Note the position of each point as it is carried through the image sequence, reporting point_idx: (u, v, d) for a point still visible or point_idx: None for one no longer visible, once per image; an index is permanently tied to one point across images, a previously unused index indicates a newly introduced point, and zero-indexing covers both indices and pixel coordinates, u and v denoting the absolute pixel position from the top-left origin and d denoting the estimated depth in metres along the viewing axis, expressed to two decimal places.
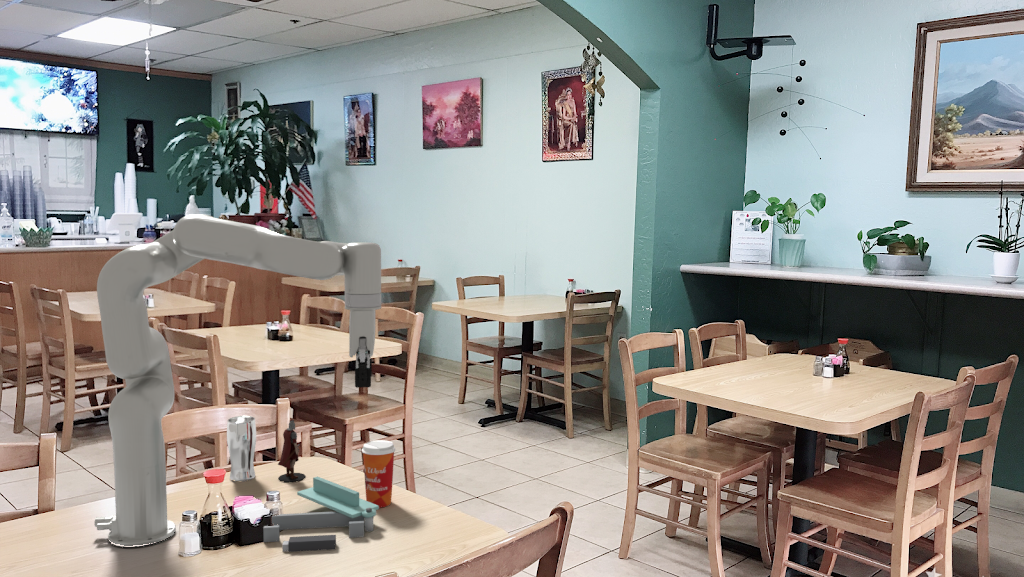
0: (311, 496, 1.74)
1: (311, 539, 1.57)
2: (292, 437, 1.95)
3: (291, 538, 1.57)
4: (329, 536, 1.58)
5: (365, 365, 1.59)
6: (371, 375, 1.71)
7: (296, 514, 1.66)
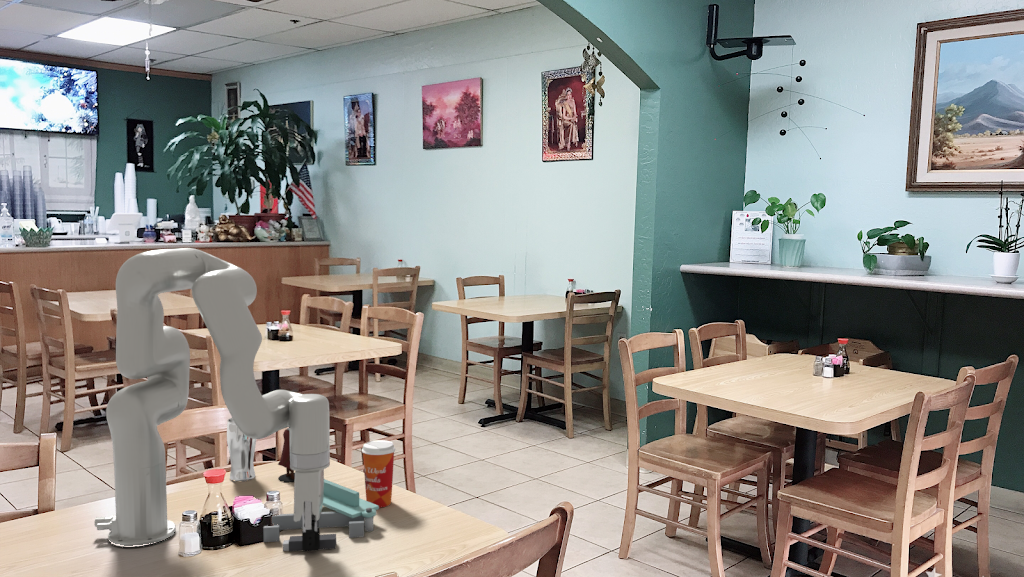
0: None
1: None
2: None
3: (291, 537, 1.57)
4: (329, 535, 1.58)
5: (312, 530, 1.52)
6: (319, 546, 1.55)
7: None
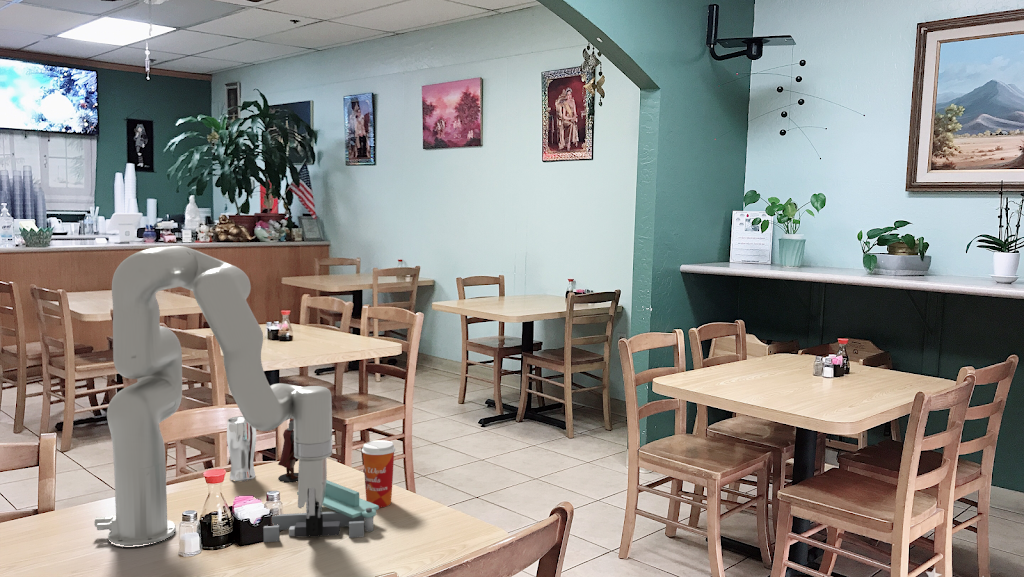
0: None
1: None
2: (292, 437, 1.95)
3: (297, 523, 1.64)
4: (333, 522, 1.65)
5: (316, 516, 1.59)
6: (322, 532, 1.62)
7: (296, 514, 1.66)
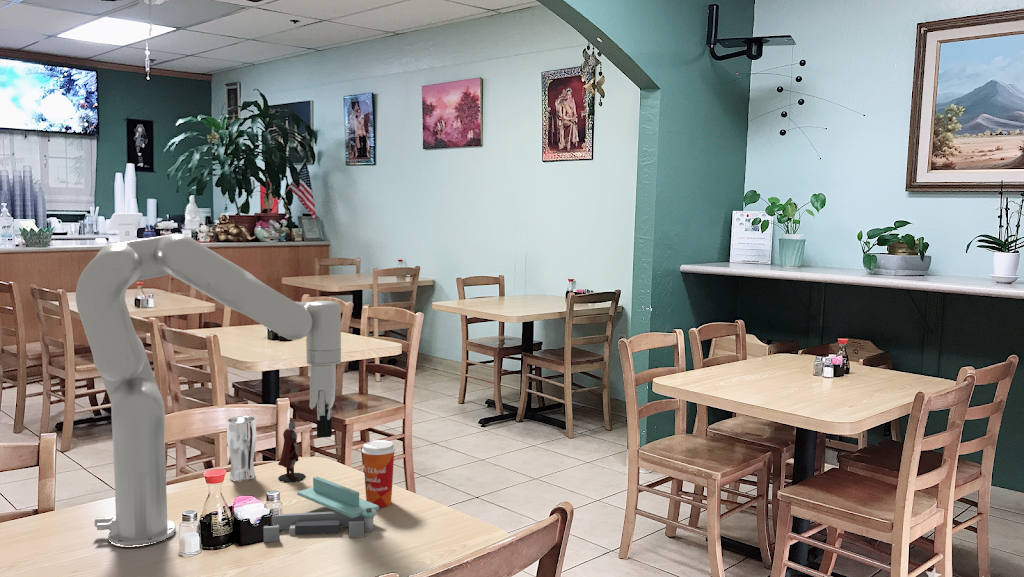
0: (311, 496, 1.74)
1: (317, 523, 1.64)
2: (292, 437, 1.95)
3: (298, 522, 1.65)
4: (334, 521, 1.66)
5: (325, 417, 1.75)
6: (331, 434, 1.78)
7: (296, 514, 1.66)
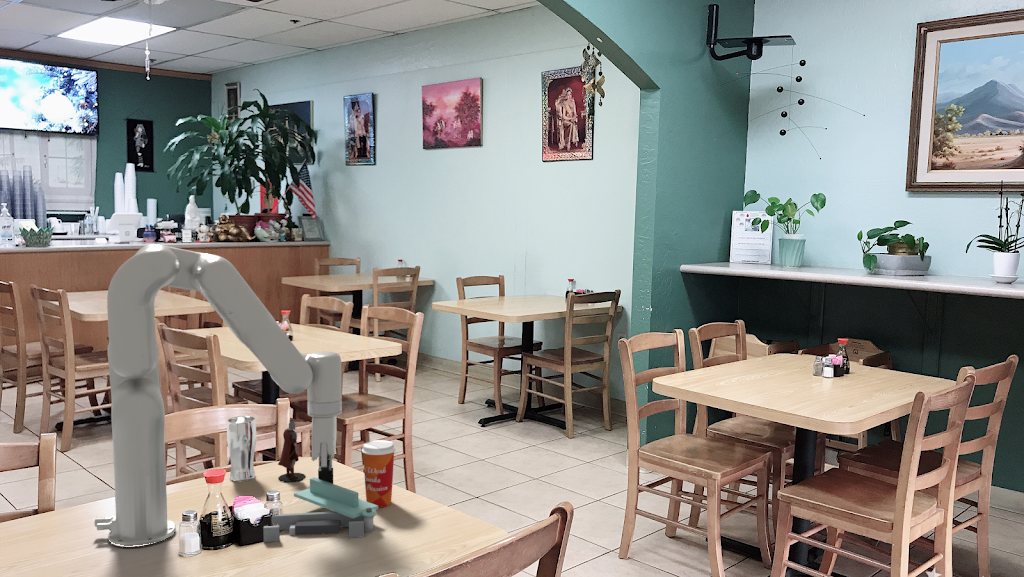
0: (308, 497, 1.74)
1: (317, 523, 1.64)
2: (292, 437, 1.95)
3: (298, 522, 1.65)
4: (334, 521, 1.66)
5: (327, 468, 1.76)
6: None
7: (296, 514, 1.66)
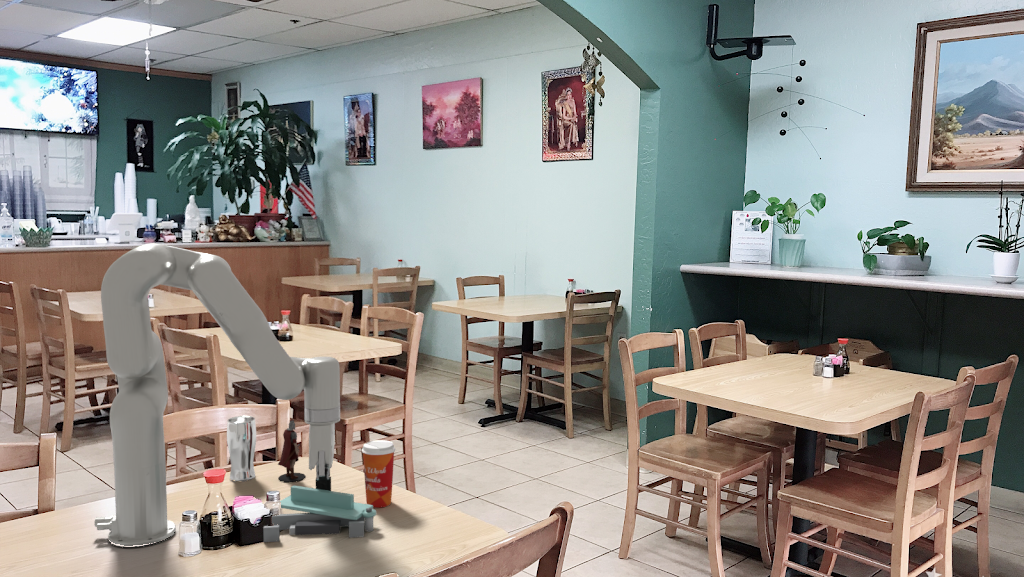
0: (295, 506, 1.68)
1: (317, 523, 1.64)
2: (292, 437, 1.95)
3: (298, 522, 1.65)
4: (334, 521, 1.66)
5: (325, 477, 1.70)
6: None
7: (296, 514, 1.66)
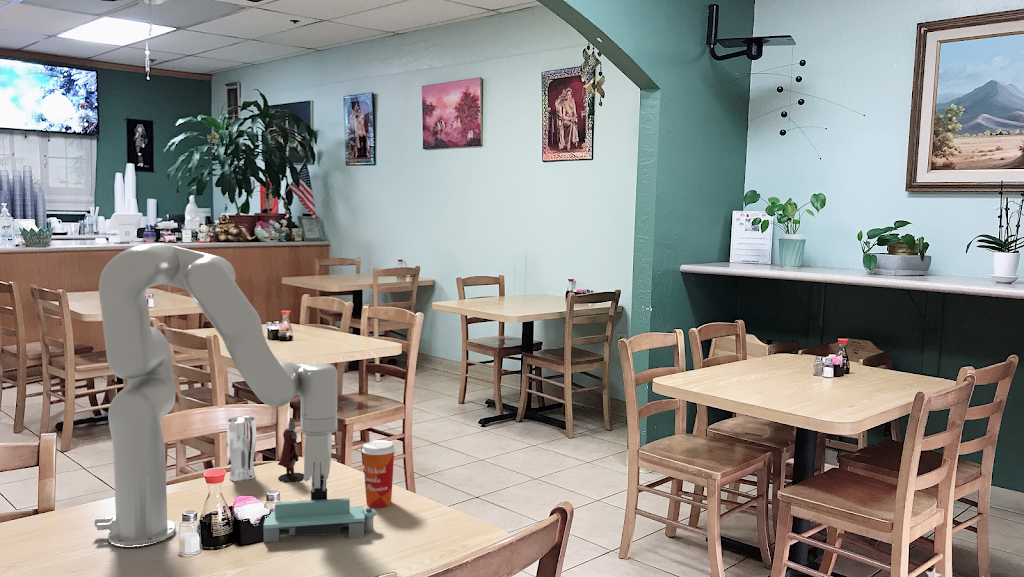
0: (288, 522, 1.60)
1: None
2: (292, 437, 1.95)
3: None
4: None
5: (321, 489, 1.64)
6: None
7: None
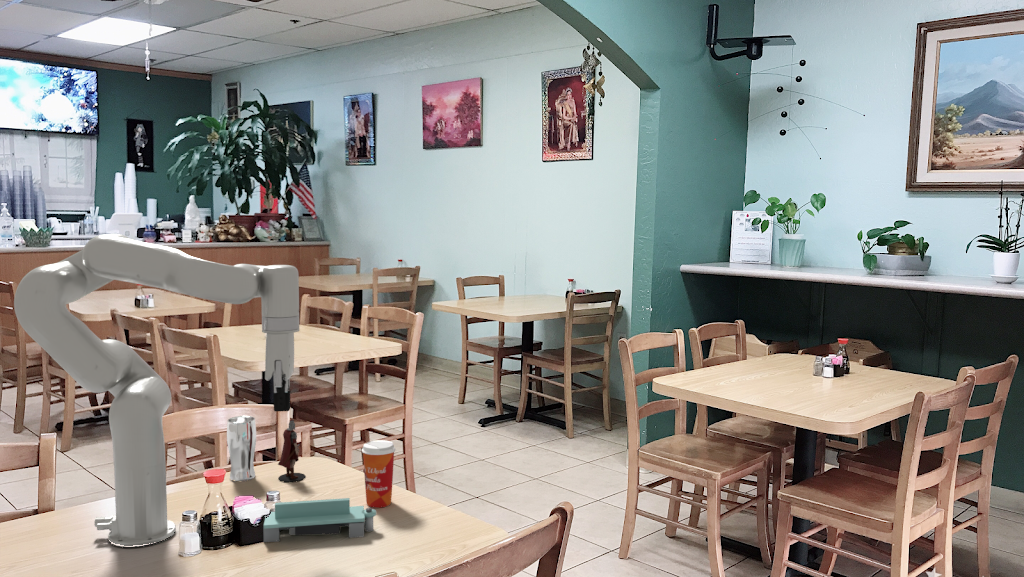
0: (288, 522, 1.60)
1: None
2: (292, 437, 1.95)
3: None
4: None
5: (283, 390, 1.63)
6: None
7: None
